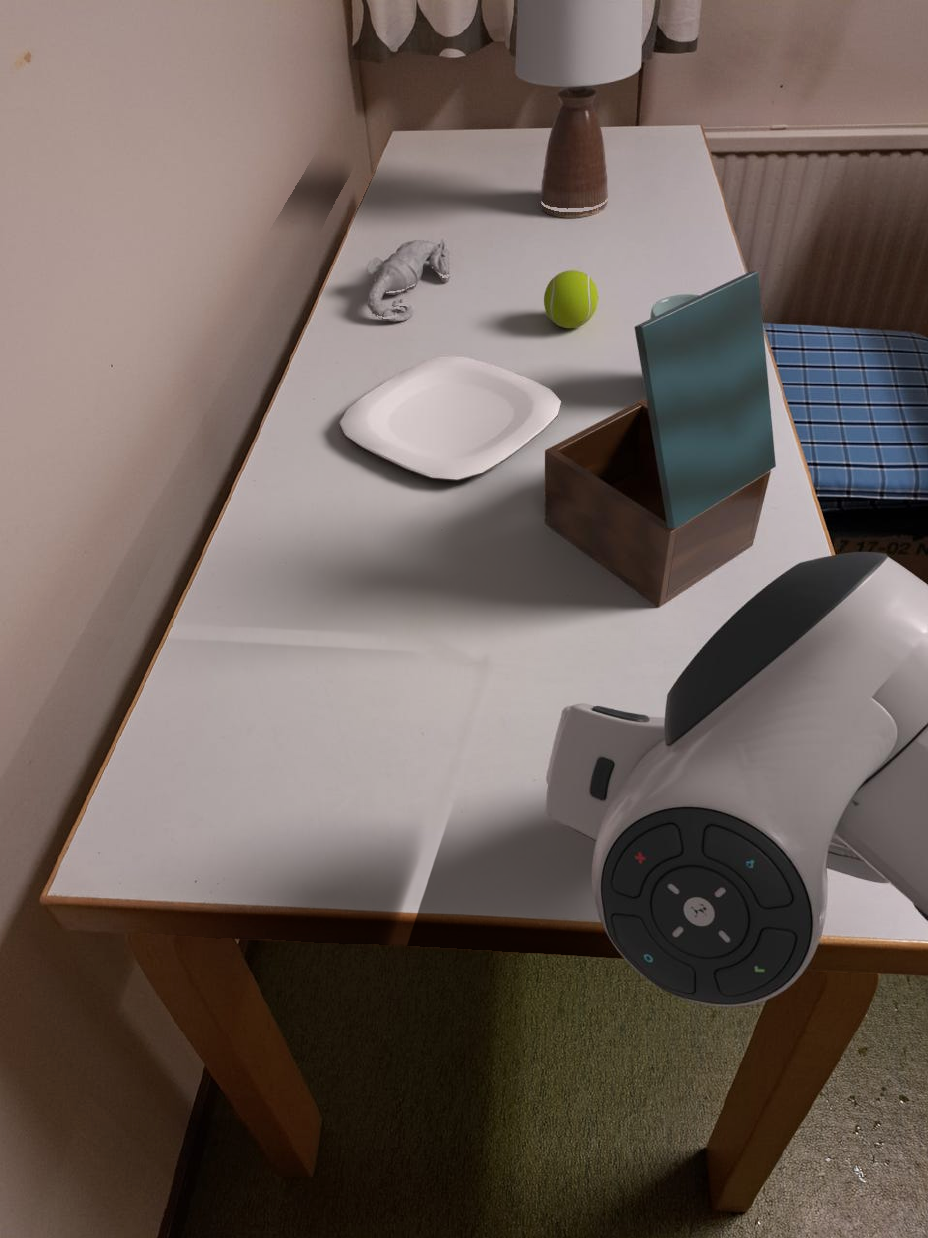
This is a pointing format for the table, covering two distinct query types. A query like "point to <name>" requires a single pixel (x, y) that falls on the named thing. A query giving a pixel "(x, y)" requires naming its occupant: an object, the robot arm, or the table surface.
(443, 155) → the table surface
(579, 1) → the lamp
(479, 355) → the table surface
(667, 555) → the wooden box
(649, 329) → the teal box lid
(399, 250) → the seahorse
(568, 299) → the tennis ball
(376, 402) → the plate
